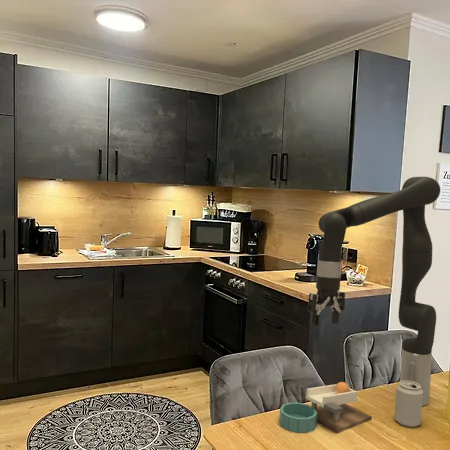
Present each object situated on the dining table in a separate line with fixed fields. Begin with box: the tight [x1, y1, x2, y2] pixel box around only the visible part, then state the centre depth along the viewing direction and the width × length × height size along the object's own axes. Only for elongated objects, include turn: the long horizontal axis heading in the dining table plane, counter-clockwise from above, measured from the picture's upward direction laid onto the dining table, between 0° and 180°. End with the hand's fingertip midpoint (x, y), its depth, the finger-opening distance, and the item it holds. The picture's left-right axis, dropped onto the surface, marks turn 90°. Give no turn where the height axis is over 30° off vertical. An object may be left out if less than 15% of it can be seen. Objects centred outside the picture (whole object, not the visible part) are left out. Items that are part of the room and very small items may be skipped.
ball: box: [336, 381, 350, 394], centre depth 144 cm, size 4×4×4 cm
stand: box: [310, 401, 373, 434], centre depth 141 cm, size 16×14×6 cm
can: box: [394, 380, 423, 428], centre depth 139 cm, size 8×8×12 cm
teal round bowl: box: [278, 402, 318, 434], centre depth 136 cm, size 11×11×4 cm
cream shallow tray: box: [305, 383, 358, 413], centre depth 140 cm, size 15×11×3 cm
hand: (325, 324), depth 149 cm, fingers open, 8 cm apart
